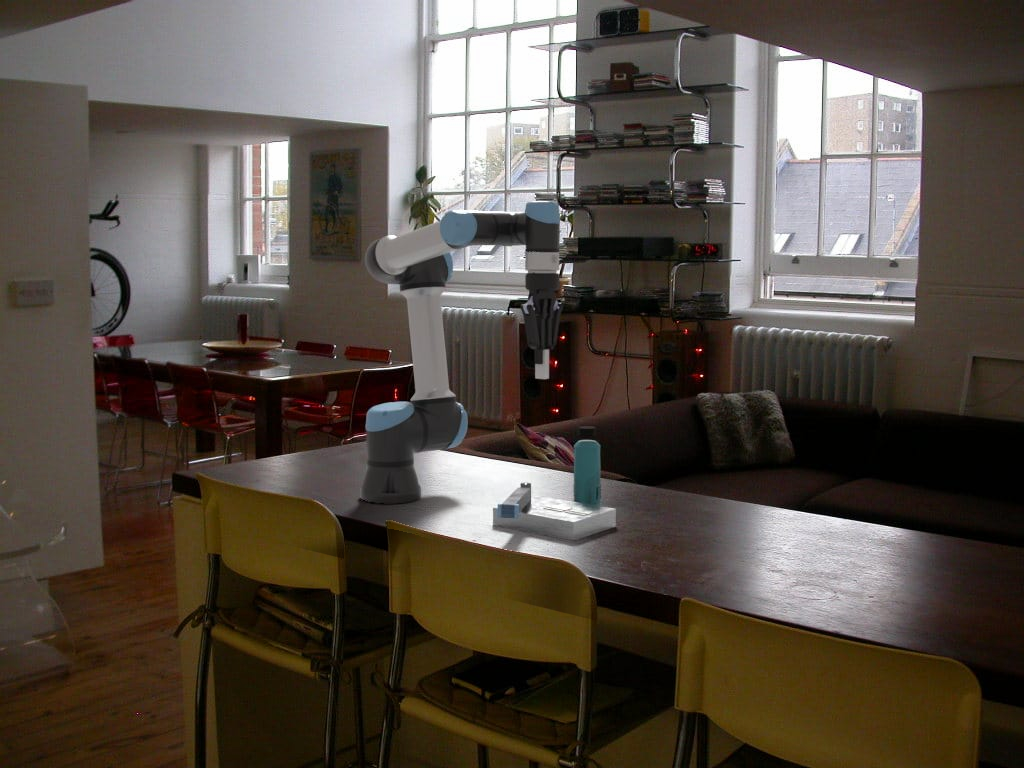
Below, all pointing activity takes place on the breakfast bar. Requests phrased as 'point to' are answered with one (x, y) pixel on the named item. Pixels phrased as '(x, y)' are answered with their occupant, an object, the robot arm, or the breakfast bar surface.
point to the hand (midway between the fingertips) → (542, 378)
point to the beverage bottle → (587, 468)
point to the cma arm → (514, 503)
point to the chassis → (559, 518)
